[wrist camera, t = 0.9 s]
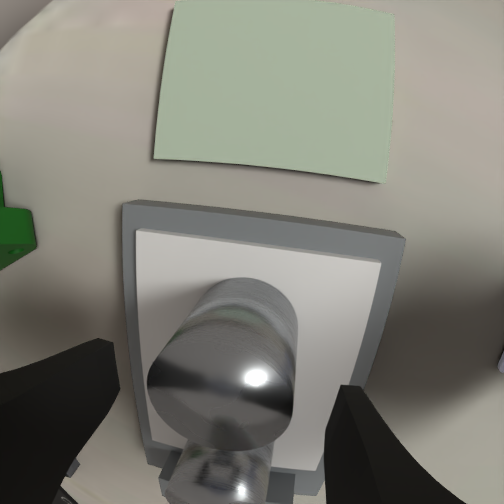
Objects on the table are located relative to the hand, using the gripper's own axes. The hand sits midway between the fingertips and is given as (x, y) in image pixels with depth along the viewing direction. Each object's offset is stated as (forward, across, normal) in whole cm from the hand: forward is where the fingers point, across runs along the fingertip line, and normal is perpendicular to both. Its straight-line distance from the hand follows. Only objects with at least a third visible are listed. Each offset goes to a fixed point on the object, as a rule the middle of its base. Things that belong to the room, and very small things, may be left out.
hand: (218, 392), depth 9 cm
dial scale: (+6, 0, +4) cm, 8 cm away
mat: (+6, 0, -10) cm, 12 cm away
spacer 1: (+4, 0, 0) cm, 4 cm away
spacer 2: (+4, 0, +7) cm, 8 cm away
